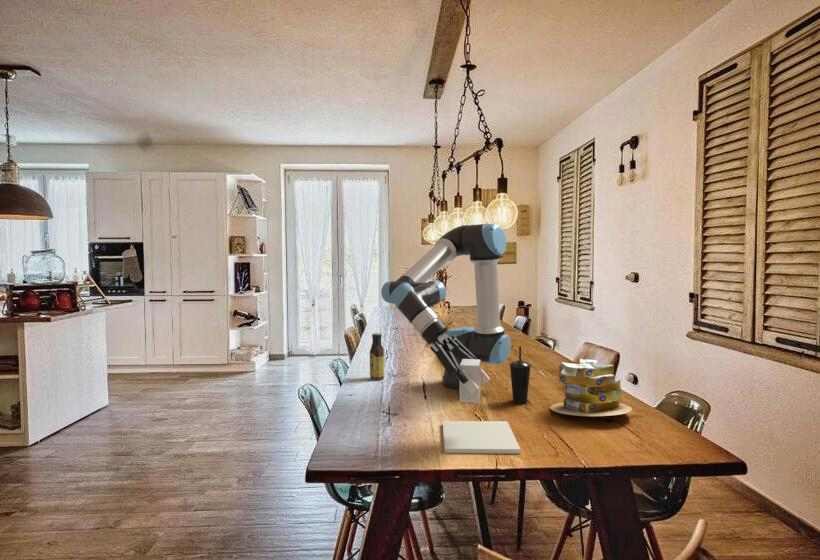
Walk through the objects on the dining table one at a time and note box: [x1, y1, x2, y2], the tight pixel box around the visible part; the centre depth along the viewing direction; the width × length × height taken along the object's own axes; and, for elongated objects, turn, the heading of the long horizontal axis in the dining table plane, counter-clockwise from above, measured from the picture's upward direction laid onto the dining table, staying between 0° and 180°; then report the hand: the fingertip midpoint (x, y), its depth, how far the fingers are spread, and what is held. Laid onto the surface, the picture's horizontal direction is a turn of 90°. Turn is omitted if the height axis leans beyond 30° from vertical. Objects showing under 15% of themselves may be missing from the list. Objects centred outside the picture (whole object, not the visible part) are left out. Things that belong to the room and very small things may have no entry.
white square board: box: [442, 420, 522, 455], centre depth 128 cm, size 20×20×1 cm
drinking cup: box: [508, 346, 532, 405], centre depth 159 cm, size 8×8×20 cm
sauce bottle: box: [369, 332, 385, 381], centre depth 191 cm, size 7×6×20 cm
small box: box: [458, 359, 482, 404], centre depth 127 cm, size 8×6×10 cm
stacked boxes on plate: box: [550, 361, 633, 420], centre depth 147 cm, size 25×25×17 cm
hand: (481, 386), depth 125 cm, fingers closed on small box, 9 cm apart
